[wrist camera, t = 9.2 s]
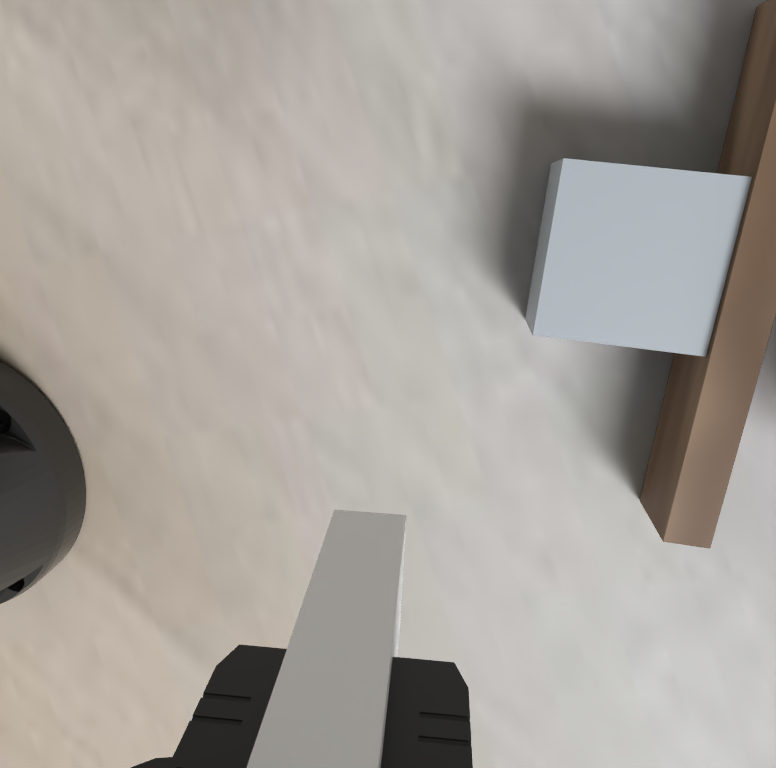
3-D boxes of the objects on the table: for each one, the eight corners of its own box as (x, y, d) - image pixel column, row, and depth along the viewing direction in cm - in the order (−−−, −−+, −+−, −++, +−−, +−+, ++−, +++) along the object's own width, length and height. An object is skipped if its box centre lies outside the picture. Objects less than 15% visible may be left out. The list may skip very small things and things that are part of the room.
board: (639, 500, 32) (663, 541, 28) (756, 7, 25) (808, -28, 21) (680, 506, 31) (709, 548, 28) (808, 11, 25) (870, -24, 21)
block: (524, 318, 30) (532, 335, 26) (550, 163, 28) (563, 158, 24) (675, 336, 29) (705, 356, 26) (712, 179, 27) (752, 176, 24)
